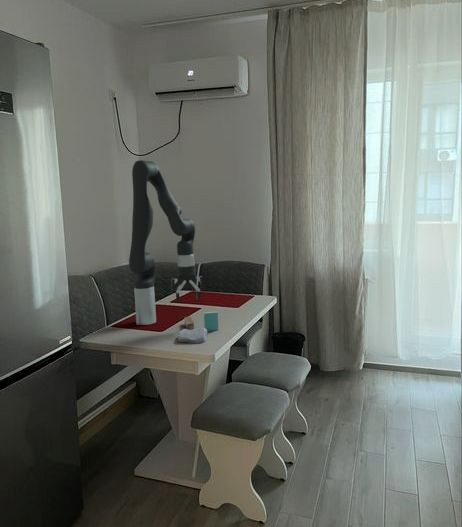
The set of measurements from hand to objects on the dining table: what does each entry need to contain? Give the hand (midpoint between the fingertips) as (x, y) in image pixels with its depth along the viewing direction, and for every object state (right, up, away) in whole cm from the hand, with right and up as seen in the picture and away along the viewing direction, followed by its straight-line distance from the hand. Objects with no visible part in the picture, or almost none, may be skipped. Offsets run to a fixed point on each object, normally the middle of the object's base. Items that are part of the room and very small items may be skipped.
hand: (188, 300), depth 202 cm
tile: (+10, -13, -2) cm, 17 cm away
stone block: (+3, -15, -14) cm, 21 cm away
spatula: (+1, -13, 0) cm, 13 cm away
